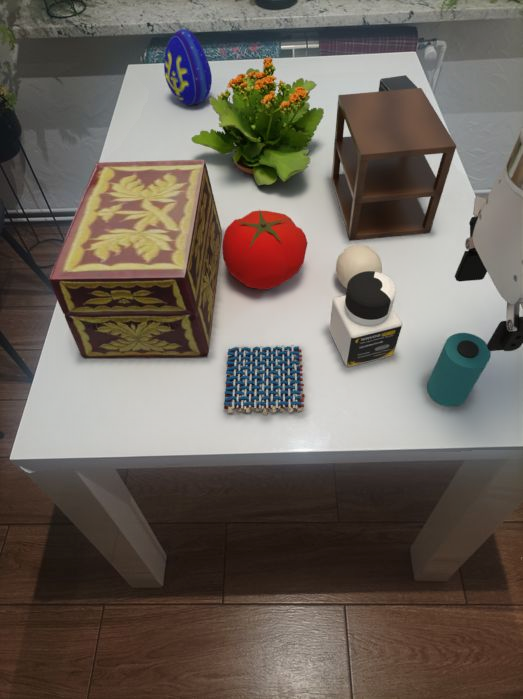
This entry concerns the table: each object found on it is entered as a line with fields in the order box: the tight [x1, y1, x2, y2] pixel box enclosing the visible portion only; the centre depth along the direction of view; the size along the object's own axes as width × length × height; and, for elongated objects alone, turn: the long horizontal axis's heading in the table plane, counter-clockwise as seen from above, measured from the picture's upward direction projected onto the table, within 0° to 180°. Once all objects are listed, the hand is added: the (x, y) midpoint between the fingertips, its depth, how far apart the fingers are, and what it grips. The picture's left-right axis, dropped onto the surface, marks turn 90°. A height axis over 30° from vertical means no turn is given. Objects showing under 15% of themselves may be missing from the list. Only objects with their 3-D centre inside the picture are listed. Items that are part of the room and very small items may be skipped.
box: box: [377, 74, 419, 92], centre depth 96 cm, size 8×6×11 cm
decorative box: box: [49, 159, 223, 359], centre depth 70 cm, size 28×19×15 cm
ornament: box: [163, 28, 213, 106], centre depth 107 cm, size 11×9×15 cm
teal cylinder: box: [426, 332, 492, 408], centre depth 59 cm, size 5×5×9 cm
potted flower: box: [191, 57, 325, 187], centre depth 90 cm, size 25×24×18 cm
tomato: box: [221, 209, 308, 290], centre depth 73 cm, size 13×12×11 cm
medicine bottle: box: [329, 271, 403, 368], centre depth 63 cm, size 7×7×12 cm
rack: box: [331, 87, 457, 241], centre depth 80 cm, size 14×18×16 cm
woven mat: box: [223, 344, 306, 416], centre depth 64 cm, size 10×11×2 cm
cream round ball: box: [335, 244, 383, 289], centre depth 73 cm, size 7×7×7 cm
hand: (484, 311), depth 50 cm, fingers open, 9 cm apart
